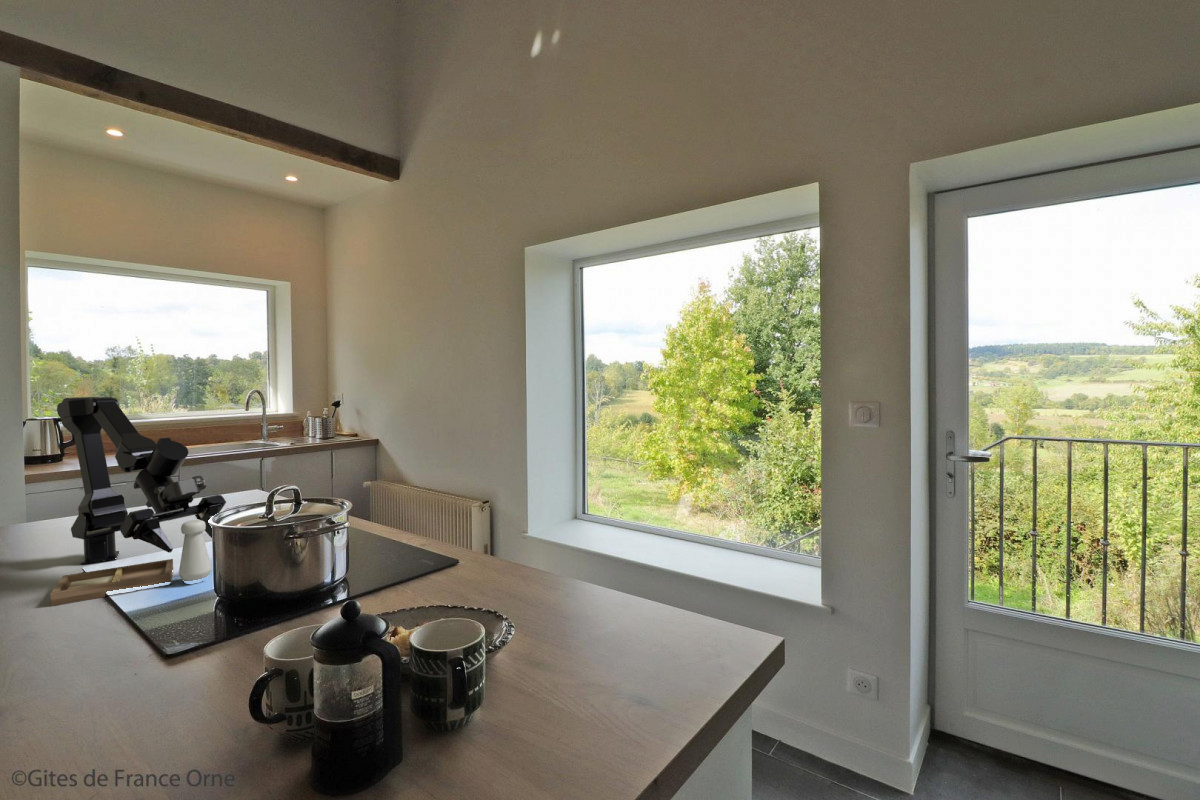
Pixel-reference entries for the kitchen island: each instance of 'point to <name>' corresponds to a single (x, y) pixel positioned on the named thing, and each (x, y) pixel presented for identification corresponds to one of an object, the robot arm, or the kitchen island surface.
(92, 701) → the kitchen island surface
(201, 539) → the salt shaker
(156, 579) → the brown flat rectangular tray
